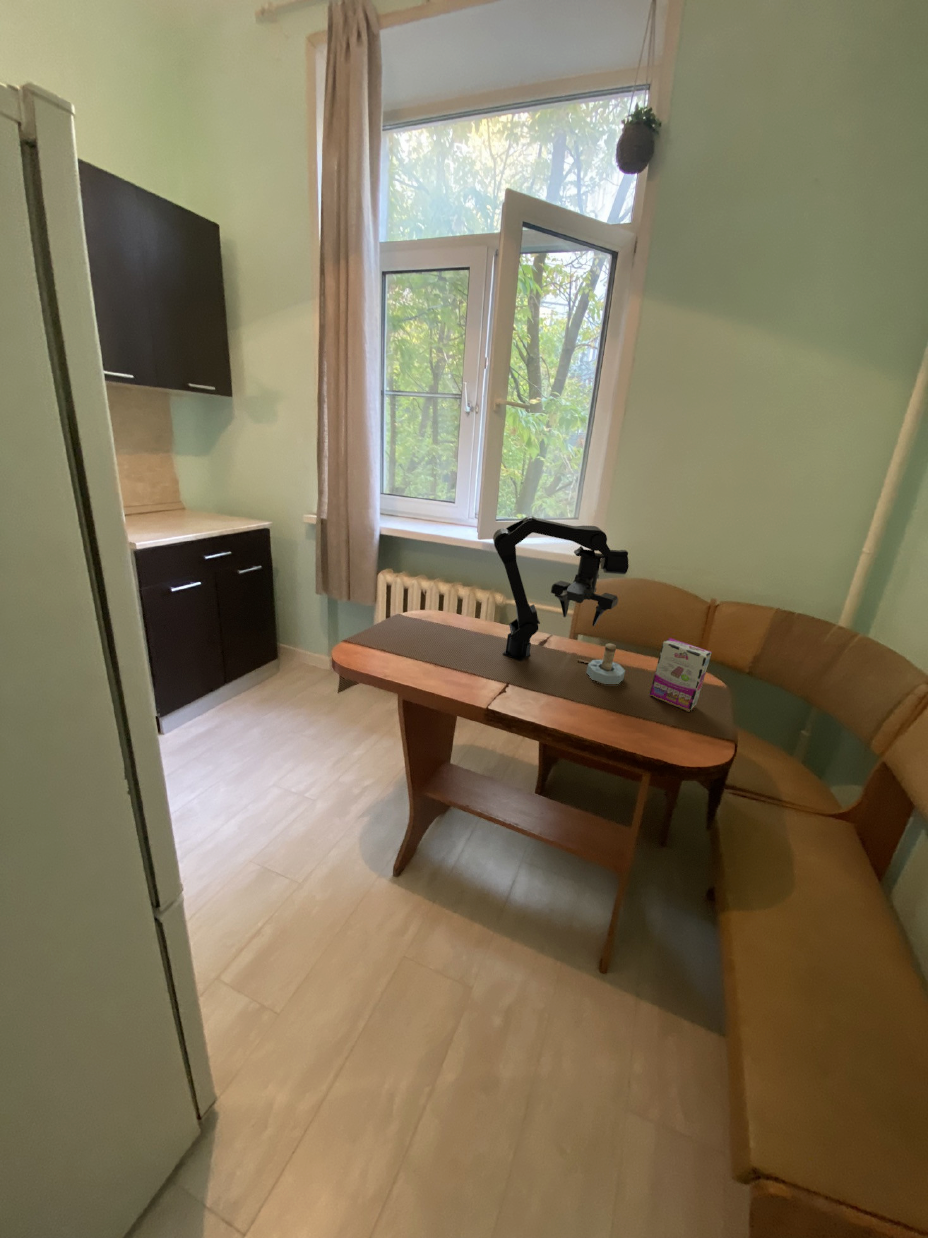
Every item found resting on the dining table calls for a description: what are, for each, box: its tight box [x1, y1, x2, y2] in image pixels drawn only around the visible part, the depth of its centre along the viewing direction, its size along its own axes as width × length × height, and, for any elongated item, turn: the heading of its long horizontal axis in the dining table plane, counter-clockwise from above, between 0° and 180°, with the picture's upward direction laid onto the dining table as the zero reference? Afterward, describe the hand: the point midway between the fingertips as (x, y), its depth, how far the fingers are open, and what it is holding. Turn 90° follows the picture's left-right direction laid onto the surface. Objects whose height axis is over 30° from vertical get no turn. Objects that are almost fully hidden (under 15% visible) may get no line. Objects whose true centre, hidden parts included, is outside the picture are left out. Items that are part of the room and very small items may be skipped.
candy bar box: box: [649, 637, 712, 711], centre depth 127 cm, size 11×5×16 cm, turn 47°
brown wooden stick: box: [577, 658, 591, 665], centre depth 146 cm, size 12×1×1 cm, turn 67°
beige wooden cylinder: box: [601, 643, 617, 671], centre depth 138 cm, size 3×3×10 cm
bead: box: [585, 659, 626, 685], centre depth 139 cm, size 10×10×3 cm
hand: (578, 621), depth 144 cm, fingers open, 9 cm apart
